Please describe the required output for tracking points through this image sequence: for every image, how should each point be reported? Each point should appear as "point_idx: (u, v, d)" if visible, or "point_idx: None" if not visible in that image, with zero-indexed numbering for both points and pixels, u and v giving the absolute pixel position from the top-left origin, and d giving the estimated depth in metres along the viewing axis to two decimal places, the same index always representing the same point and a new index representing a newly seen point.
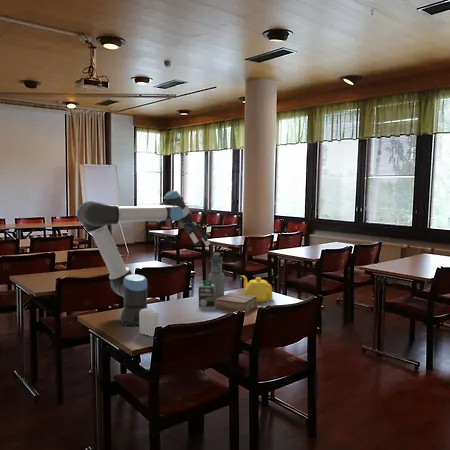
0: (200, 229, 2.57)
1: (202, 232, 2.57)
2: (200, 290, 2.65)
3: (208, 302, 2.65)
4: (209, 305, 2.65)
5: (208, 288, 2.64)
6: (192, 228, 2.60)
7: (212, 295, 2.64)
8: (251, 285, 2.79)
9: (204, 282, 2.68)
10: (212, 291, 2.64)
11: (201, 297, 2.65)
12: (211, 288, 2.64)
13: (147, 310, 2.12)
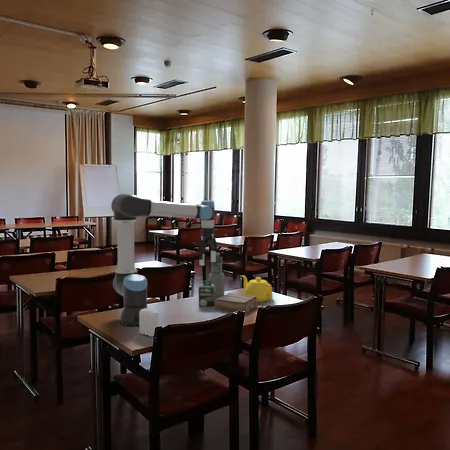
0: (200, 245, 2.59)
1: (199, 249, 2.58)
2: (200, 290, 2.65)
3: (208, 302, 2.65)
4: (209, 305, 2.65)
5: (208, 288, 2.64)
6: None
7: (212, 295, 2.64)
8: (251, 285, 2.78)
9: (204, 282, 2.68)
10: (212, 291, 2.64)
11: (201, 297, 2.65)
12: (211, 288, 2.64)
13: (147, 310, 2.12)
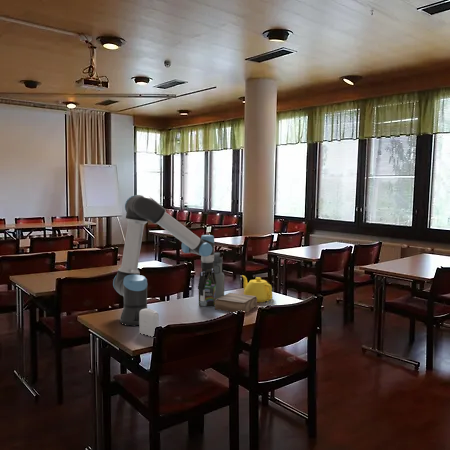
0: (201, 281, 2.61)
1: (200, 285, 2.61)
2: None
3: (208, 302, 2.65)
4: (209, 305, 2.65)
5: (208, 288, 2.64)
6: None
7: (212, 295, 2.64)
8: (251, 285, 2.78)
9: None
10: (212, 291, 2.64)
11: None
12: (211, 288, 2.64)
13: (147, 310, 2.12)
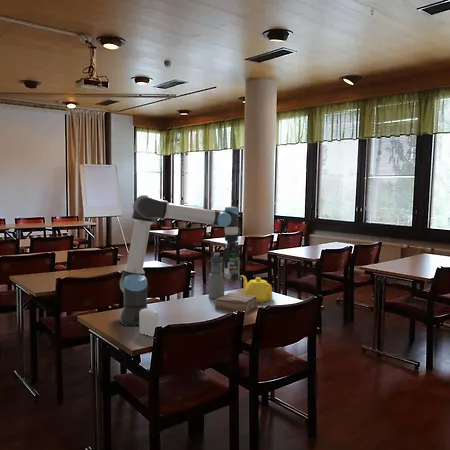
0: (225, 254, 2.55)
1: (224, 257, 2.55)
2: None
3: (233, 275, 2.59)
4: (233, 278, 2.59)
5: (232, 261, 2.58)
6: None
7: (237, 268, 2.58)
8: (251, 285, 2.78)
9: None
10: (237, 264, 2.58)
11: None
12: (236, 261, 2.58)
13: (147, 310, 2.12)
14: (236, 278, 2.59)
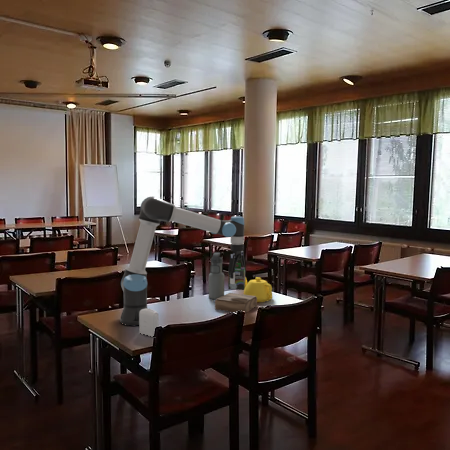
0: (231, 264, 2.54)
1: (230, 267, 2.54)
2: None
3: (238, 285, 2.58)
4: (239, 288, 2.58)
5: (238, 271, 2.57)
6: None
7: (242, 278, 2.57)
8: (251, 285, 2.78)
9: None
10: (242, 274, 2.57)
11: None
12: (241, 271, 2.57)
13: (147, 310, 2.12)
14: (242, 288, 2.58)
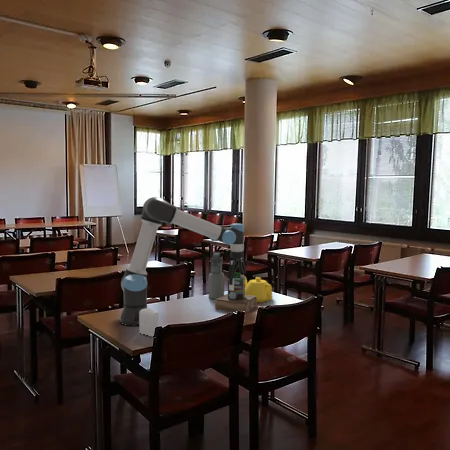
0: (230, 270, 2.54)
1: (229, 274, 2.53)
2: None
3: (237, 295, 2.58)
4: (238, 298, 2.58)
5: (237, 280, 2.57)
6: None
7: (242, 288, 2.57)
8: (251, 285, 2.78)
9: None
10: (242, 284, 2.57)
11: None
12: (241, 280, 2.57)
13: (147, 310, 2.12)
14: (241, 298, 2.58)
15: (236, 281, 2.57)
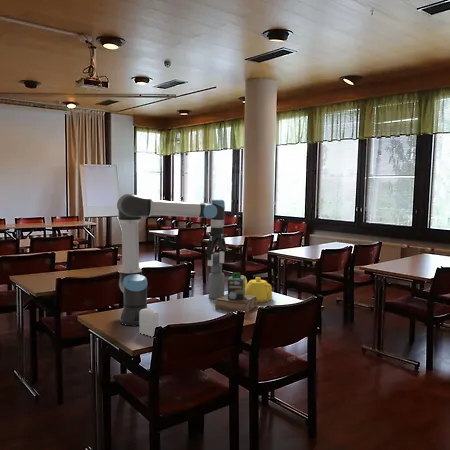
0: (209, 245, 2.52)
1: (208, 249, 2.52)
2: (229, 282, 2.58)
3: (237, 295, 2.58)
4: (238, 298, 2.58)
5: (237, 280, 2.57)
6: None
7: (242, 288, 2.57)
8: (251, 285, 2.78)
9: (233, 274, 2.61)
10: (242, 284, 2.57)
11: (230, 289, 2.58)
12: (241, 280, 2.57)
13: (147, 310, 2.12)
14: (241, 298, 2.58)
15: (236, 281, 2.57)
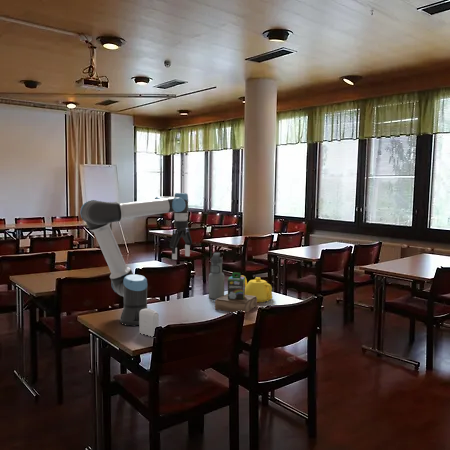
0: (173, 239, 2.52)
1: (171, 242, 2.51)
2: (229, 282, 2.58)
3: (237, 295, 2.58)
4: (238, 298, 2.58)
5: (237, 280, 2.57)
6: None
7: (242, 288, 2.57)
8: (251, 285, 2.78)
9: (233, 274, 2.61)
10: (242, 283, 2.57)
11: (230, 289, 2.58)
12: (241, 280, 2.57)
13: (147, 310, 2.12)
14: (241, 298, 2.58)
15: (236, 281, 2.57)
